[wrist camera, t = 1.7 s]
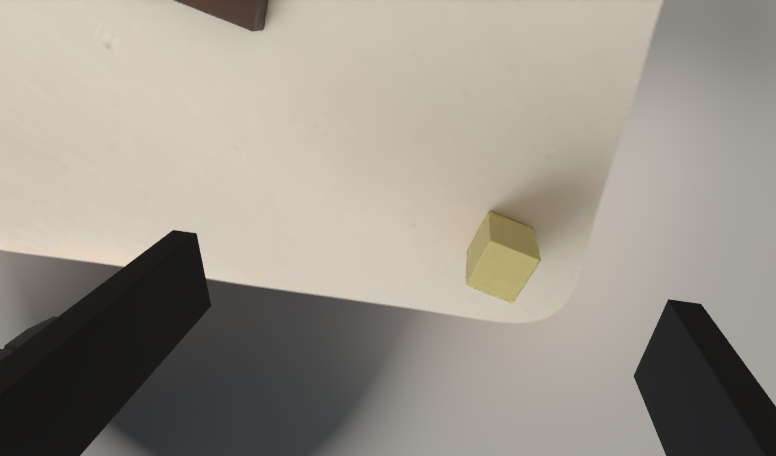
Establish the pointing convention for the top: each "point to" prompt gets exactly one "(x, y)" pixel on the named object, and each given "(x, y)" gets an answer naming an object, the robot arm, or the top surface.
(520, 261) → the butter
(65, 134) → the top surface
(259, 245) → the top surface
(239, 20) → the lever base
